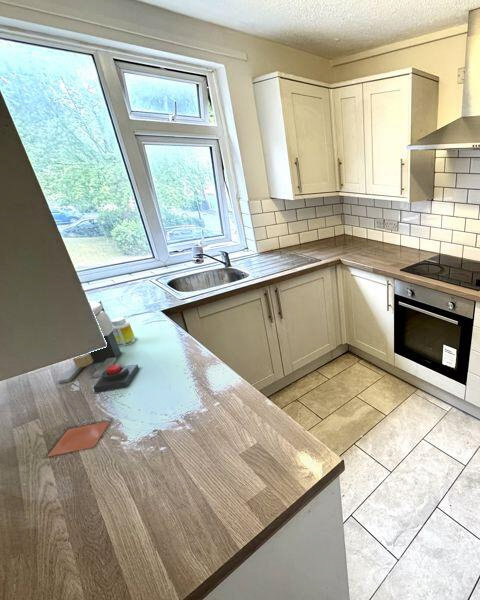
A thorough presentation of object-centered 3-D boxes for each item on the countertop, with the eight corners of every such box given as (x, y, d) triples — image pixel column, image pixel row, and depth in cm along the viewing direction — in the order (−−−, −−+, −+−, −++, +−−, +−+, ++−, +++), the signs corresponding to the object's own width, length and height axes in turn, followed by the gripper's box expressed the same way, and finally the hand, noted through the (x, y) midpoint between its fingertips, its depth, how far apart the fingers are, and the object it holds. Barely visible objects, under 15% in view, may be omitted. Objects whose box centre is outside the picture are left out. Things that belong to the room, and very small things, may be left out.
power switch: (95, 393, 98) (90, 382, 96) (110, 374, 107) (106, 364, 105) (127, 388, 100) (123, 377, 99) (139, 370, 109) (135, 359, 107)
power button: (106, 375, 100) (104, 370, 99) (111, 369, 103) (109, 365, 102) (119, 373, 101) (117, 369, 100) (123, 367, 104) (121, 363, 103)
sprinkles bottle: (81, 360, 108) (66, 324, 103) (97, 359, 109) (82, 323, 104) (71, 368, 104) (54, 331, 99) (87, 367, 105) (72, 330, 100)
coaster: (47, 458, 77) (46, 456, 76) (69, 430, 84) (68, 429, 84) (94, 448, 79) (93, 446, 79) (111, 422, 87) (110, 420, 87)
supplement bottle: (138, 338, 128) (129, 314, 124) (133, 345, 123) (124, 321, 119) (121, 340, 126) (111, 317, 122) (115, 348, 121) (105, 323, 117)
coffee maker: (60, 384, 102) (30, 323, 94) (84, 360, 114) (59, 304, 106) (103, 377, 105) (78, 318, 97) (121, 354, 117) (100, 300, 109)
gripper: (10, 320, 93) (30, 361, 99) (98, 311, 100) (113, 350, 105) (24, 311, 99) (43, 350, 104) (107, 303, 105) (121, 340, 111)
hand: (79, 350), depth 105 cm, fingers closed on sprinkles bottle, 4 cm apart
